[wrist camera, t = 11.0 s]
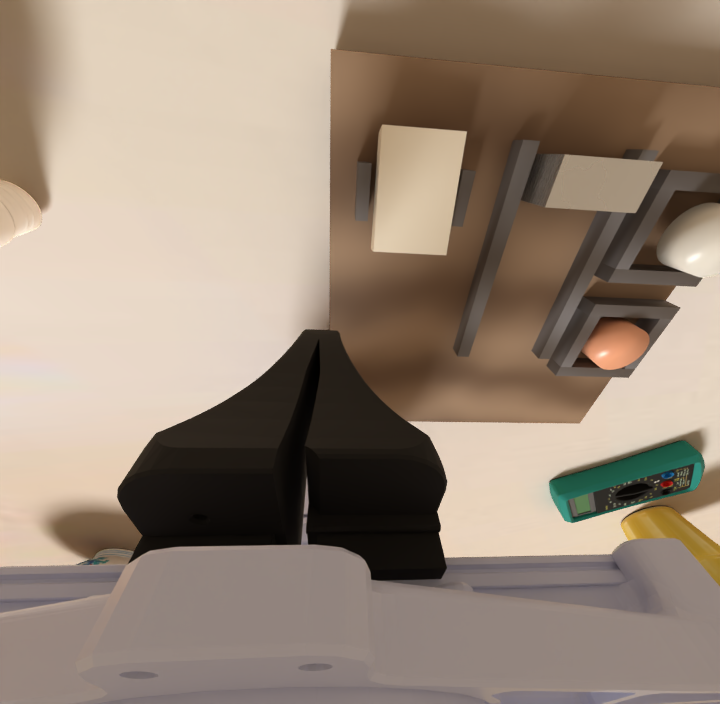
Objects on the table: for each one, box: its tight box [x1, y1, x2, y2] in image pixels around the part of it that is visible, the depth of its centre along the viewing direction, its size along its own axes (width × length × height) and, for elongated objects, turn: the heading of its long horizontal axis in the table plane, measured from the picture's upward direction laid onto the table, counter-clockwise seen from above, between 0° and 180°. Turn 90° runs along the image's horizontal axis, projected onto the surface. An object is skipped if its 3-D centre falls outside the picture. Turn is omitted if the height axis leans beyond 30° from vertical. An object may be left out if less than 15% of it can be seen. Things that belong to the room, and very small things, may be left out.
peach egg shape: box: [581, 317, 649, 370], centre depth 20 cm, size 3×3×2 cm
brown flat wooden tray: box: [330, 49, 720, 423], centre depth 19 cm, size 22×22×4 cm
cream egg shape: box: [657, 202, 720, 278], centre depth 15 cm, size 3×3×2 cm
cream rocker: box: [371, 125, 467, 255], centre depth 14 cm, size 5×4×1 cm
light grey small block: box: [521, 154, 663, 213], centre depth 14 cm, size 2×4×2 cm, turn 87°
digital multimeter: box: [549, 441, 705, 523], centre depth 34 cm, size 7×15×3 cm, turn 119°
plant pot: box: [621, 506, 720, 586], centre depth 37 cm, size 10×10×10 cm
